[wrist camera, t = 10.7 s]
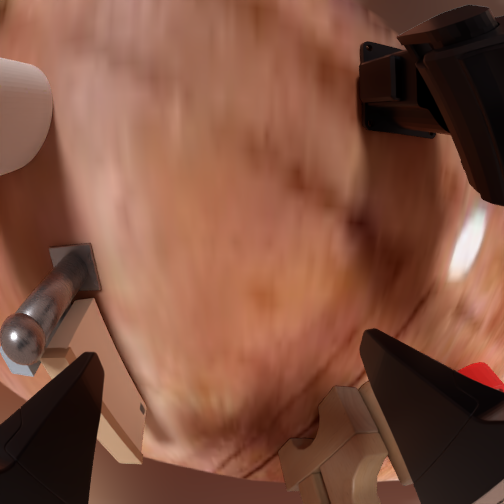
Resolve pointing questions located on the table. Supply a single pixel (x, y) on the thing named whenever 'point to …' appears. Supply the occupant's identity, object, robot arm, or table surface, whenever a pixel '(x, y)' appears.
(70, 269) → the grey metallic round-topped post
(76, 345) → the beige flat block
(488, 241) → the table surface
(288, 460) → the wooden toy
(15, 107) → the off-white flat-topped cylinder
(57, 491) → the robot arm
